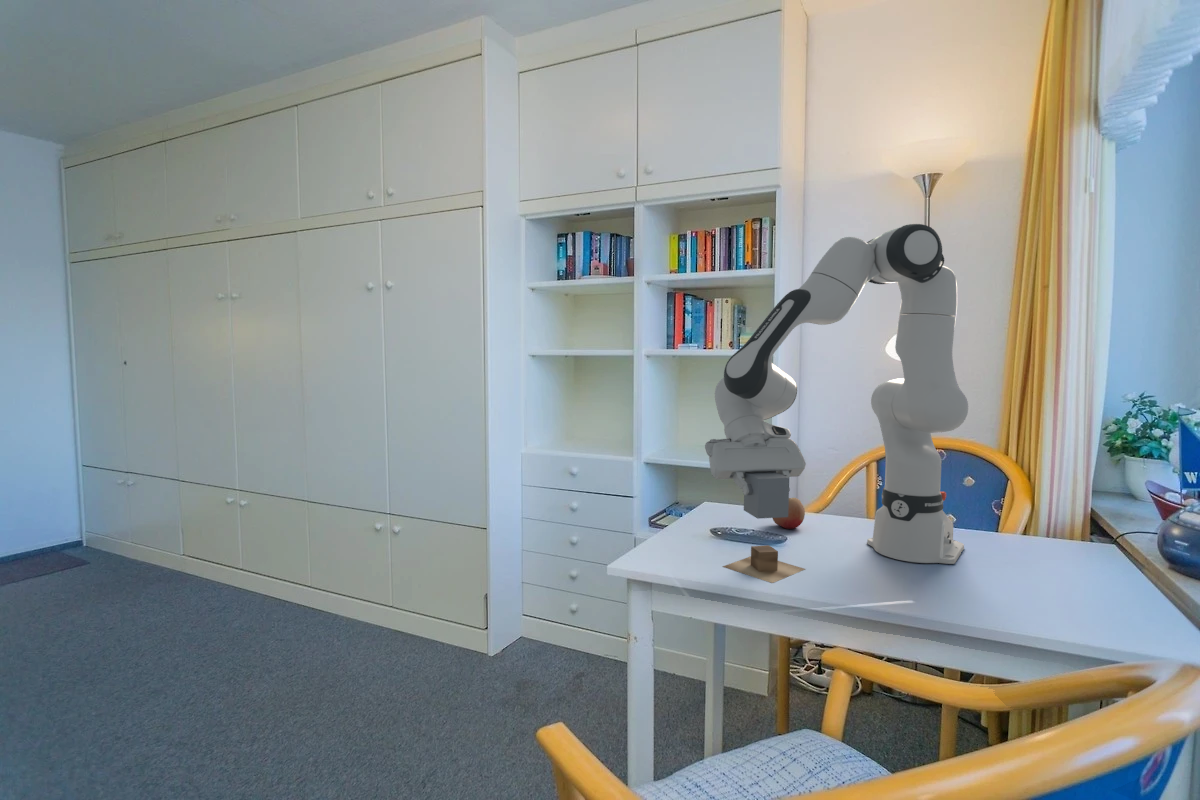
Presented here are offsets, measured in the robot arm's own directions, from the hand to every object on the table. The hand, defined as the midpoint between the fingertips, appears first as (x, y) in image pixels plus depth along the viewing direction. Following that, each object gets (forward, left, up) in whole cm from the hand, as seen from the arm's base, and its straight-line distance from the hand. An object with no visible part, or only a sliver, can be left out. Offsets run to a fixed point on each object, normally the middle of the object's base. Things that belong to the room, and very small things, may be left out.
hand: (767, 493), depth 127 cm
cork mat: (0, -1, -16) cm, 16 cm away
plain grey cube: (0, -1, -4) cm, 4 cm away
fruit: (-31, -15, -16) cm, 38 cm away
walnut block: (0, -1, -16) cm, 16 cm away
